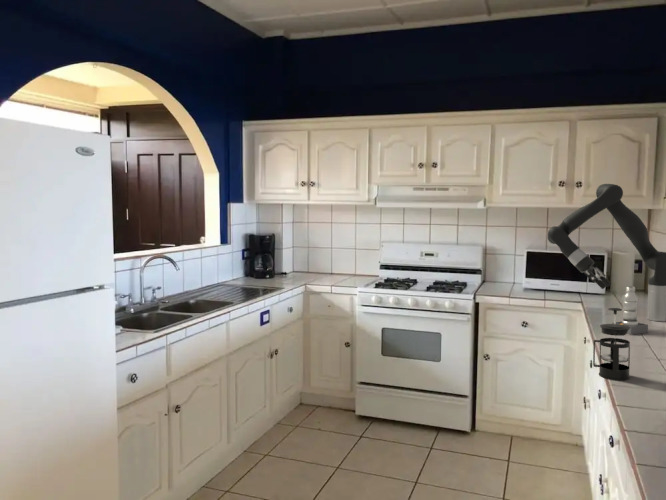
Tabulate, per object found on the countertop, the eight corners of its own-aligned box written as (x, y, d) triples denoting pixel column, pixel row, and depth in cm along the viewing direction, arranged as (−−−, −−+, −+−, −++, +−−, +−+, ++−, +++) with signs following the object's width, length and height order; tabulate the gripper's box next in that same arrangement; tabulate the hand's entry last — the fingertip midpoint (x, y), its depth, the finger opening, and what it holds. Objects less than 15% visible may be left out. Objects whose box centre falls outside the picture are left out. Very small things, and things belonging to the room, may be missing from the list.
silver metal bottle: (629, 333, 247) (630, 288, 245) (618, 330, 254) (618, 286, 252) (641, 332, 249) (642, 287, 247) (629, 329, 255) (630, 285, 254)
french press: (630, 373, 191) (631, 306, 189) (634, 381, 182) (635, 311, 180) (592, 370, 195) (593, 305, 193) (594, 378, 186) (594, 309, 184)
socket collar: (628, 328, 258) (628, 319, 257) (647, 332, 248) (648, 323, 248) (612, 330, 254) (612, 321, 254) (630, 334, 245) (630, 325, 244)
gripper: (582, 256, 255) (609, 283, 248) (591, 253, 266) (617, 279, 259) (570, 267, 259) (596, 294, 252) (579, 264, 270) (605, 289, 263)
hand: (607, 286), depth 256 cm, fingers open, 8 cm apart
